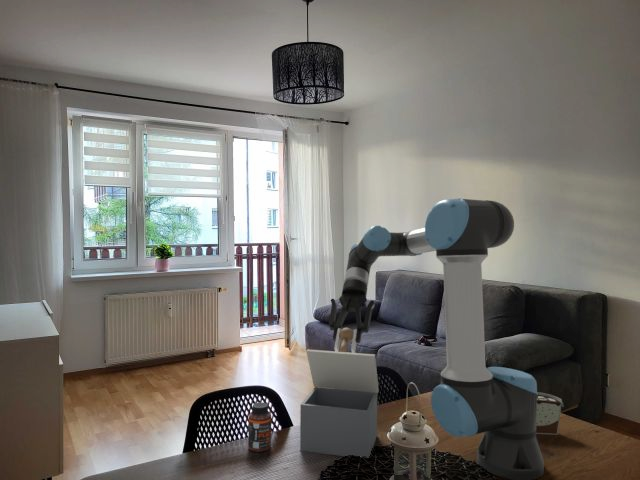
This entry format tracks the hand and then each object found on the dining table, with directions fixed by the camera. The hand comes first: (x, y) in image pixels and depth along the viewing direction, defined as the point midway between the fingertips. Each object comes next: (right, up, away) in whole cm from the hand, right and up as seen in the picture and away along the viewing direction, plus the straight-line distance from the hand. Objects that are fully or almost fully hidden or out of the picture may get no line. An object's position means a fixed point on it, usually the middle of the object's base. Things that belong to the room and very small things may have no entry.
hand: (344, 351), depth 130 cm
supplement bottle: (-23, -24, -7) cm, 34 cm away
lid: (-1, -5, -2) cm, 6 cm away
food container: (+56, -24, +5) cm, 61 cm away
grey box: (-2, -24, -5) cm, 24 cm away
